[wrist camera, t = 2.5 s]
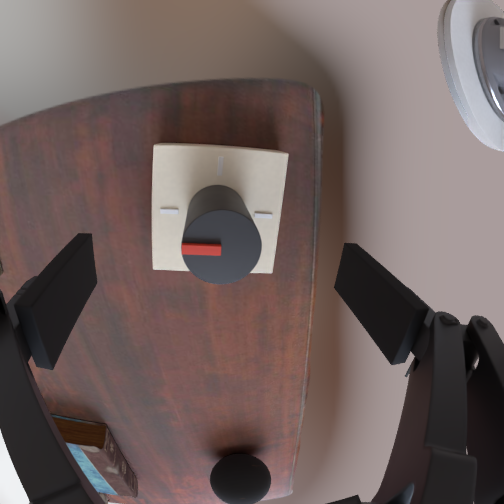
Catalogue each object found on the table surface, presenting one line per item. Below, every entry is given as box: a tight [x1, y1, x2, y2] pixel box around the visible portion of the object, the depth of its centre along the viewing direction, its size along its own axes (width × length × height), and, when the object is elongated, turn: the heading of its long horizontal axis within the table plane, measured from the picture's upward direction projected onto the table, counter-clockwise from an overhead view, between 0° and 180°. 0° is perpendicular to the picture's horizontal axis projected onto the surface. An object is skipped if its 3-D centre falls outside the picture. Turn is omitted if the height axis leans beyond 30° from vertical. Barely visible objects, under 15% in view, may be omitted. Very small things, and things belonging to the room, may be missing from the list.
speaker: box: [210, 454, 271, 504], centre depth 38 cm, size 10×10×10 cm
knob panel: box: [152, 143, 289, 273], centre depth 24 cm, size 10×10×3 cm
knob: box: [181, 185, 262, 284], centre depth 19 cm, size 4×4×7 cm
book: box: [51, 414, 138, 498], centre depth 36 cm, size 23×18×5 cm
